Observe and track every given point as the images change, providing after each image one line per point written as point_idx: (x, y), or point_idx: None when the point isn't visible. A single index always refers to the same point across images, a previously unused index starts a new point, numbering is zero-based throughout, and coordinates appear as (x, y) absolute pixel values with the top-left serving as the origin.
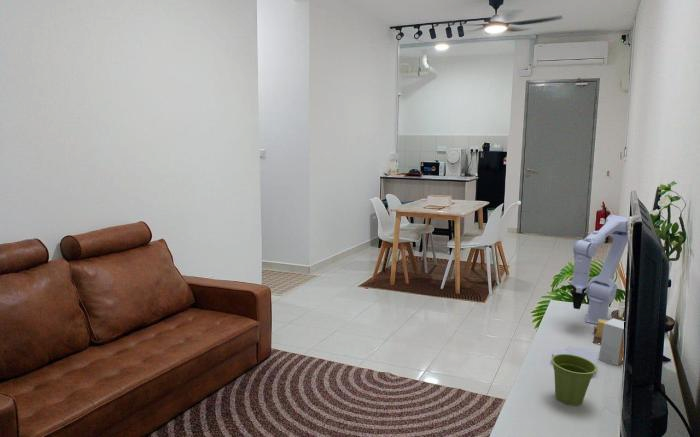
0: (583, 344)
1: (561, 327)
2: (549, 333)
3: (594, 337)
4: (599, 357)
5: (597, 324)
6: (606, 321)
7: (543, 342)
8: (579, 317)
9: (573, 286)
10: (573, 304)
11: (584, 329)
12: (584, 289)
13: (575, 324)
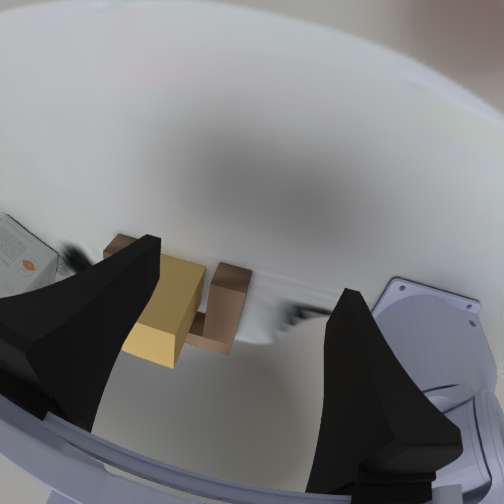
0: (81, 189)
1: (271, 114)
2: (137, 35)
3: (105, 249)
4: (2, 219)
5: (184, 309)
6: (153, 352)
7: (31, 28)
8: (459, 266)
9: (381, 438)
10: (121, 250)
11: (284, 241)
12: (315, 468)
13: (354, 215)
